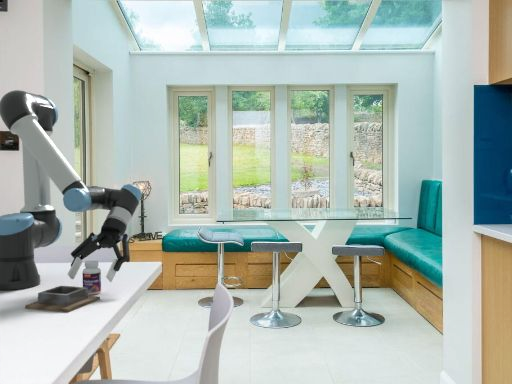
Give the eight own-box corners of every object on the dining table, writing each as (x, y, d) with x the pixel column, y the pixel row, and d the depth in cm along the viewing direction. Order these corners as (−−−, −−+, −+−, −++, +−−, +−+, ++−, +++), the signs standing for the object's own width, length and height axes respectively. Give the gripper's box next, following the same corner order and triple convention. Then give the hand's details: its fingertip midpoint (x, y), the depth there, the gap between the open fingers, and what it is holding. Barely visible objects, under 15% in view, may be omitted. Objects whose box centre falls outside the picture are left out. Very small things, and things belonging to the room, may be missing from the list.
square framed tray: (25, 308, 136) (25, 294, 136) (59, 296, 150) (59, 283, 150) (68, 312, 132) (68, 298, 132) (99, 299, 146) (99, 286, 145)
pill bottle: (82, 295, 150) (81, 263, 150) (83, 291, 155) (82, 260, 155) (100, 294, 151) (100, 262, 151) (101, 290, 157) (101, 259, 156)
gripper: (154, 231, 164) (130, 287, 150) (89, 229, 172) (61, 282, 158) (145, 217, 159) (120, 273, 145) (79, 215, 166) (49, 268, 153)
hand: (89, 278), depth 151 cm, fingers open, 13 cm apart
